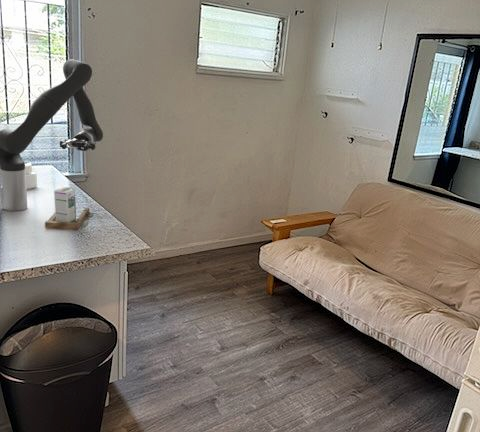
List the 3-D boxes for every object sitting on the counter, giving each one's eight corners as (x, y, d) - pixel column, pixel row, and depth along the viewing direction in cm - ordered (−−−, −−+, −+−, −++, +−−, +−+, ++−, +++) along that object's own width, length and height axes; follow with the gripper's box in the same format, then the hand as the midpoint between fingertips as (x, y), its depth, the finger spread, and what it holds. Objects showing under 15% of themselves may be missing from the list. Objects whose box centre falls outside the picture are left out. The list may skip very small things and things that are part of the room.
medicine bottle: (14, 187, 214) (12, 163, 210) (26, 184, 220) (25, 160, 216) (25, 190, 212) (24, 165, 208) (37, 187, 218) (36, 163, 214)
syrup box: (68, 226, 176) (67, 192, 171) (55, 224, 177) (53, 189, 172) (76, 222, 181) (75, 188, 176) (63, 219, 182) (62, 186, 177)
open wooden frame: (45, 228, 172) (45, 222, 171) (61, 210, 192) (60, 204, 191) (83, 230, 174) (82, 224, 173) (94, 212, 194) (94, 206, 193)
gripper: (66, 130, 197) (56, 137, 181) (99, 133, 198) (91, 140, 183) (67, 147, 199) (56, 155, 184) (99, 150, 201) (91, 158, 186)
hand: (74, 147), depth 184 cm, fingers open, 8 cm apart
